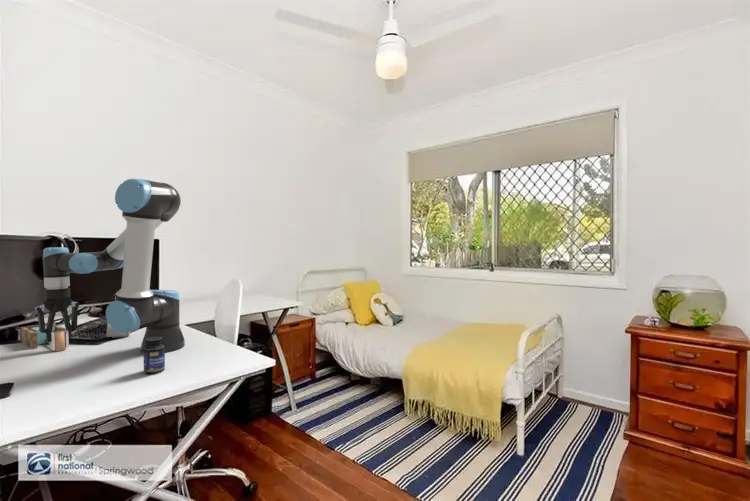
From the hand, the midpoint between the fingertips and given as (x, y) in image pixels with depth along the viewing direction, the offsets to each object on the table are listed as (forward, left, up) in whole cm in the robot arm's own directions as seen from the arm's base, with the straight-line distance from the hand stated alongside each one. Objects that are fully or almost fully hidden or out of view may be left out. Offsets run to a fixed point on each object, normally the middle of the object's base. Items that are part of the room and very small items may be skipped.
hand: (59, 348), depth 145 cm
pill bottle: (-51, -10, -1) cm, 52 cm away
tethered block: (+9, 0, -1) cm, 9 cm away
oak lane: (+18, 0, -1) cm, 18 cm away
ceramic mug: (+3, -22, -1) cm, 22 cm away
